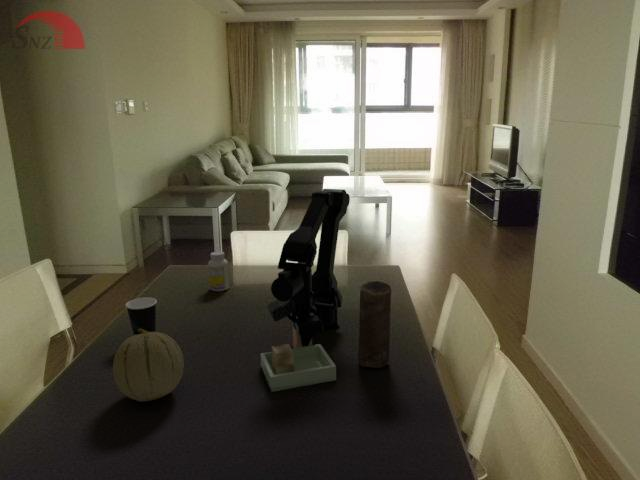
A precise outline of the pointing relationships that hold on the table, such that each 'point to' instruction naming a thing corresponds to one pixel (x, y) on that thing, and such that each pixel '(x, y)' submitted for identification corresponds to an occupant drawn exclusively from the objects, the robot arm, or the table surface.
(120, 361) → the cantaloupe
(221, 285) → the supplement bottle
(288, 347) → the maple block
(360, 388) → the table surface
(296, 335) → the coral block
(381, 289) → the candle
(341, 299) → the robot arm
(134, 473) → the table surface
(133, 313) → the dixie cup
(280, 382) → the sage tub
